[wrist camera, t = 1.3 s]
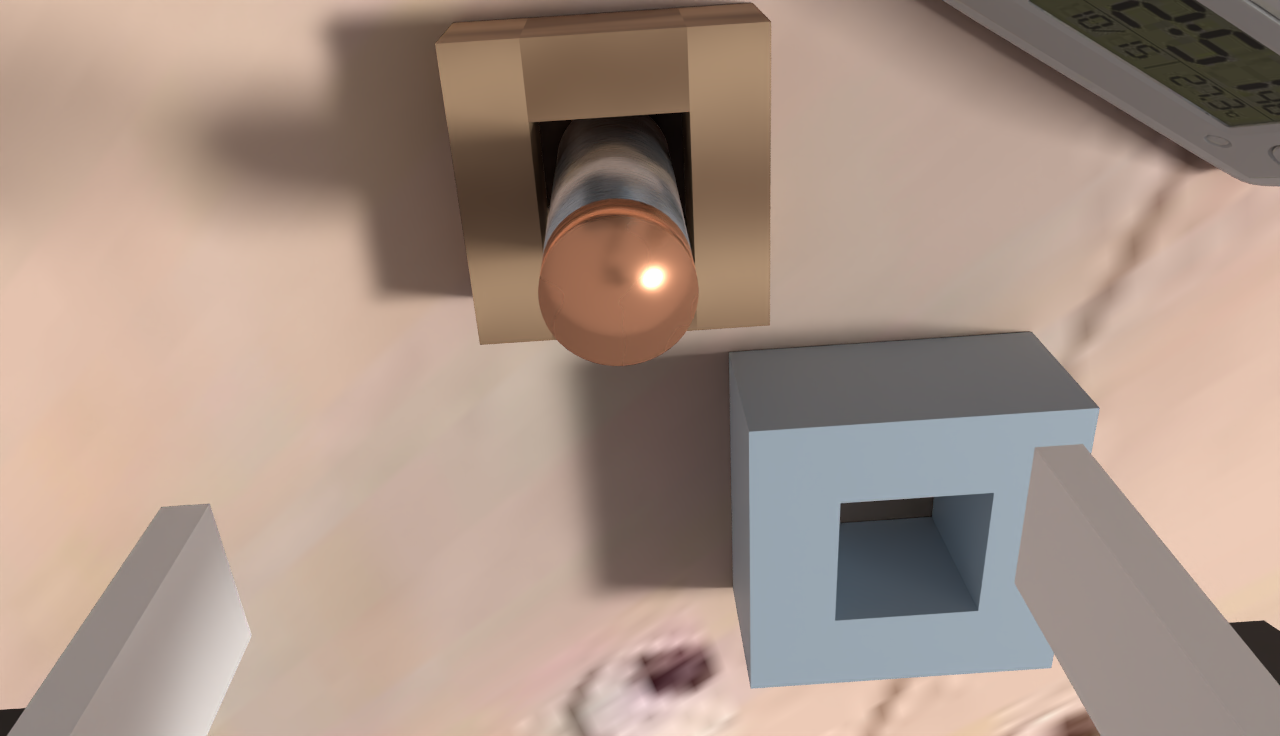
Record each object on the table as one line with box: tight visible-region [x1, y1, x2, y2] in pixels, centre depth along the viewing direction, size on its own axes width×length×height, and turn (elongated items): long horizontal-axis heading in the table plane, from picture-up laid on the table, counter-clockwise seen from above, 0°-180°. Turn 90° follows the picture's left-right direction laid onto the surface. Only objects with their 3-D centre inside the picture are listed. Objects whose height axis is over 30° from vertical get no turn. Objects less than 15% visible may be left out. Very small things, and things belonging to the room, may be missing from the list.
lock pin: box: [538, 115, 699, 366], centre depth 30 cm, size 4×4×12 cm
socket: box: [729, 332, 1100, 688], centre depth 39 cm, size 12×12×6 cm
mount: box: [435, 3, 771, 345], centre depth 33 cm, size 10×10×4 cm
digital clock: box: [943, 0, 1280, 186], centre depth 29 cm, size 16×9×11 cm, turn 51°
